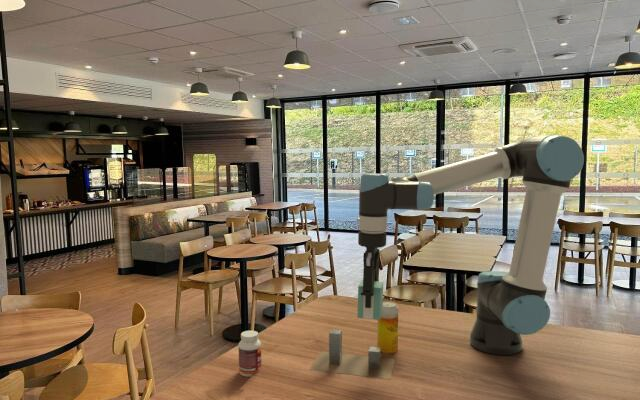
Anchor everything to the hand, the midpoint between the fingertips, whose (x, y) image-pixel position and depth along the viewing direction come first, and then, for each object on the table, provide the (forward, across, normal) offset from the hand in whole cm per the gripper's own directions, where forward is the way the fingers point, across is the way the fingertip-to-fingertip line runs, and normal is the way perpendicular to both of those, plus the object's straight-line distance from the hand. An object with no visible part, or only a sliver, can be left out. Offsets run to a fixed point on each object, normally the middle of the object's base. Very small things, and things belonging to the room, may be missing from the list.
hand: (369, 314), depth 129 cm
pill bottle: (+17, +9, -31) cm, 37 cm away
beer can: (+16, -12, +4) cm, 20 cm away
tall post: (+15, 0, -9) cm, 18 cm away
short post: (+15, 0, +2) cm, 15 cm away
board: (+16, 0, -4) cm, 17 cm away
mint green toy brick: (0, 0, 0) cm, 0 cm away
